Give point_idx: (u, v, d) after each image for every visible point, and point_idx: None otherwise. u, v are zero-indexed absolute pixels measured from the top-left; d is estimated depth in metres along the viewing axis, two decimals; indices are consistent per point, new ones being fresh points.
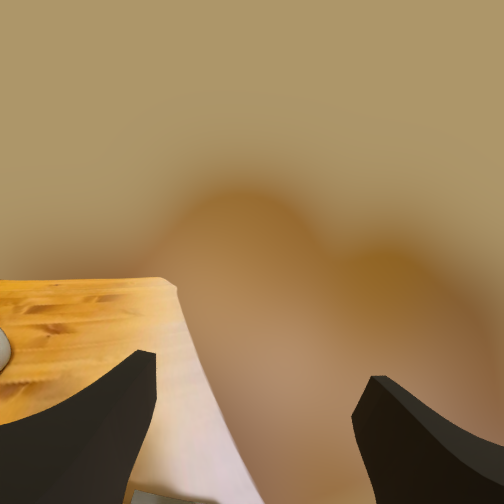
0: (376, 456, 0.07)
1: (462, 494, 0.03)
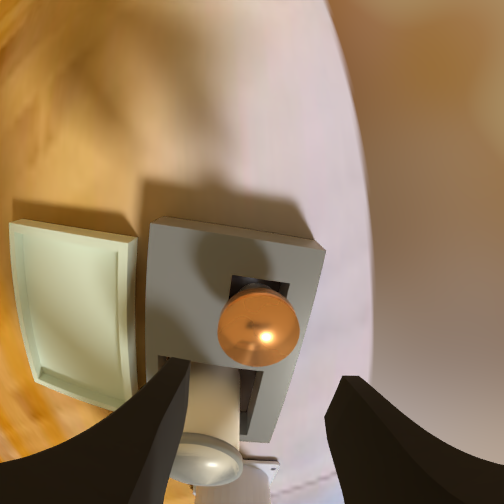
0: (346, 460, 0.07)
1: None
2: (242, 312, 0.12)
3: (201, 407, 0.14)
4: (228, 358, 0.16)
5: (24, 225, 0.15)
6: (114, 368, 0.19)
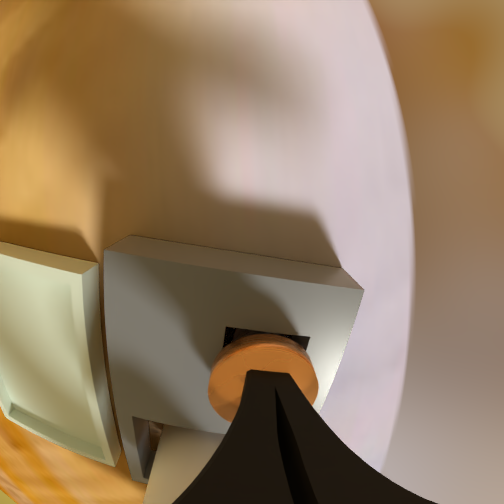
0: None
1: None
2: (241, 370, 0.08)
3: None
4: (223, 425, 0.11)
5: None
6: (87, 415, 0.13)
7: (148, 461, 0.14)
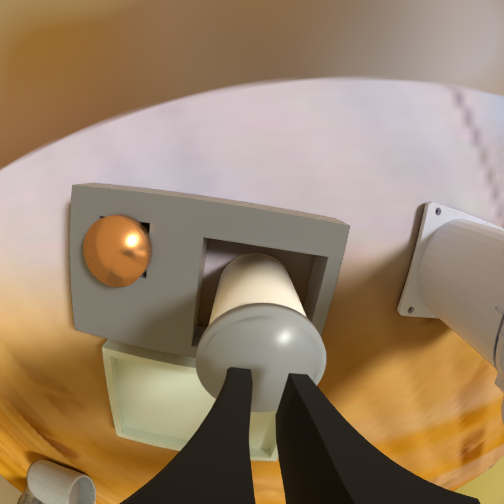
0: (288, 463, 0.07)
1: None
2: (96, 266, 0.13)
3: None
4: (185, 276, 0.15)
5: (114, 423, 0.19)
6: None
7: None
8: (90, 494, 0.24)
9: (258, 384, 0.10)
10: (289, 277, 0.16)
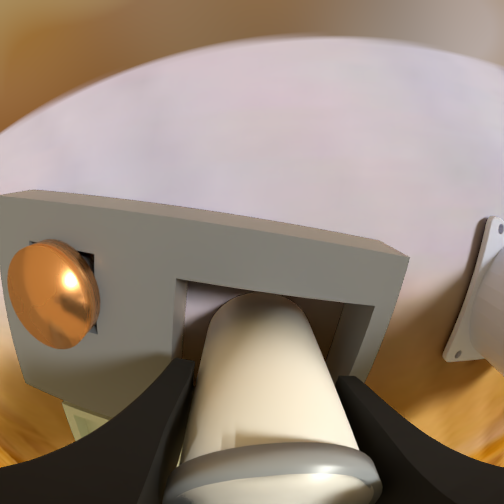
0: None
1: None
2: (26, 317, 0.08)
3: None
4: (152, 336, 0.09)
5: None
6: None
7: None
8: None
9: None
10: (312, 331, 0.10)
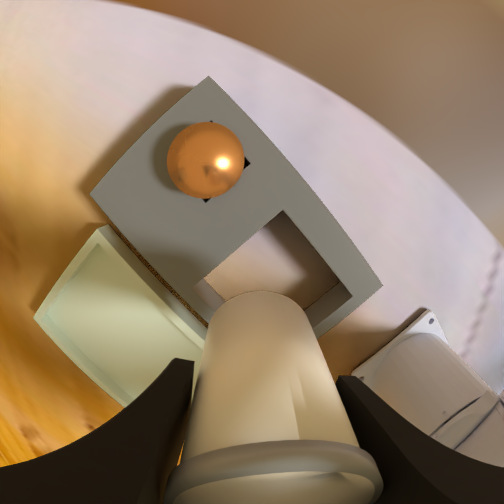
0: None
1: None
2: (177, 157, 0.13)
3: None
4: (241, 228, 0.15)
5: (41, 305, 0.17)
6: (195, 351, 0.19)
7: None
8: None
9: None
10: (312, 330, 0.10)
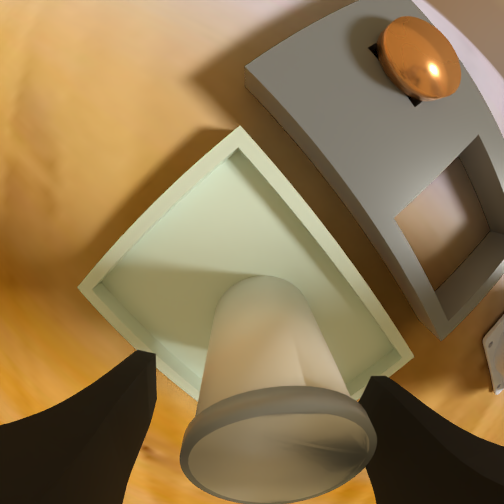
0: (376, 456, 0.07)
1: (462, 494, 0.03)
2: (399, 41, 0.07)
3: None
4: (448, 145, 0.09)
5: (96, 265, 0.11)
6: (350, 322, 0.13)
7: None
8: None
9: (272, 483, 0.06)
10: None
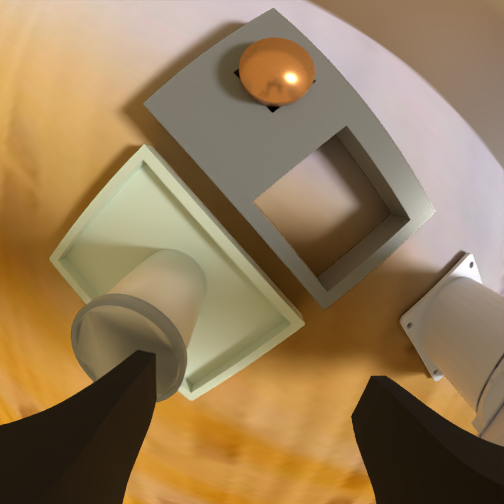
0: (376, 456, 0.07)
1: (462, 494, 0.03)
2: (250, 64, 0.12)
3: None
4: (307, 139, 0.14)
5: (61, 242, 0.16)
6: (241, 289, 0.18)
7: (321, 282, 0.17)
8: None
9: None
10: (197, 276, 0.16)
